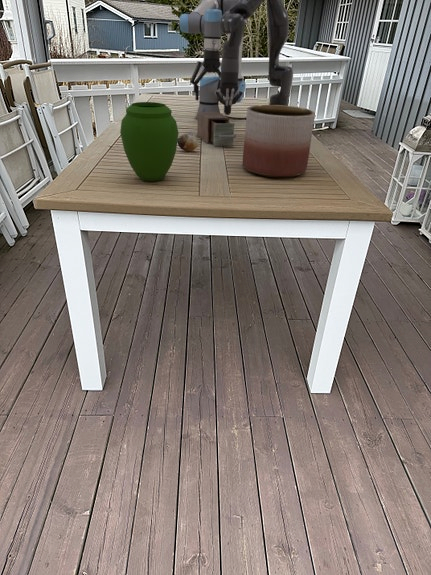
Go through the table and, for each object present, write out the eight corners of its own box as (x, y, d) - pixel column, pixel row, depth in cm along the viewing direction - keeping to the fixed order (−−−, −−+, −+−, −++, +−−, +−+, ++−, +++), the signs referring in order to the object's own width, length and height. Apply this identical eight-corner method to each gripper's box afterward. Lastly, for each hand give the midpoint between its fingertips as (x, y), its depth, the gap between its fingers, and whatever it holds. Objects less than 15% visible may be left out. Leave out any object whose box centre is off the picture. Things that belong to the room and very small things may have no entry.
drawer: (237, 147, 187) (238, 126, 182) (218, 148, 185) (219, 126, 180) (221, 137, 204) (222, 117, 199) (203, 137, 202) (204, 117, 197)
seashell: (198, 149, 184) (198, 131, 180) (199, 152, 180) (199, 133, 175) (176, 149, 183) (176, 130, 179) (177, 152, 178) (177, 133, 174)
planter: (315, 179, 154) (326, 116, 142) (250, 180, 150) (256, 115, 138) (293, 161, 175) (302, 105, 163) (236, 161, 171) (240, 103, 159)
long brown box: (227, 142, 199) (229, 118, 193) (207, 143, 196) (208, 118, 190) (216, 135, 213) (217, 111, 207) (197, 135, 210) (197, 111, 204)
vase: (131, 189, 135) (125, 110, 122) (118, 172, 150) (112, 100, 137) (186, 184, 142) (187, 109, 129) (169, 168, 157) (167, 99, 144)
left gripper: (188, 49, 181) (187, 101, 192) (240, 51, 188) (236, 101, 200) (183, 48, 187) (183, 98, 198) (234, 50, 194) (231, 98, 205)
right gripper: (217, 71, 167) (215, 116, 176) (247, 71, 170) (244, 116, 180) (212, 69, 173) (210, 113, 182) (241, 69, 176) (238, 113, 186)
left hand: (210, 100), depth 199 cm, fingers open, 13 cm apart
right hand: (227, 114), depth 181 cm, fingers closed
